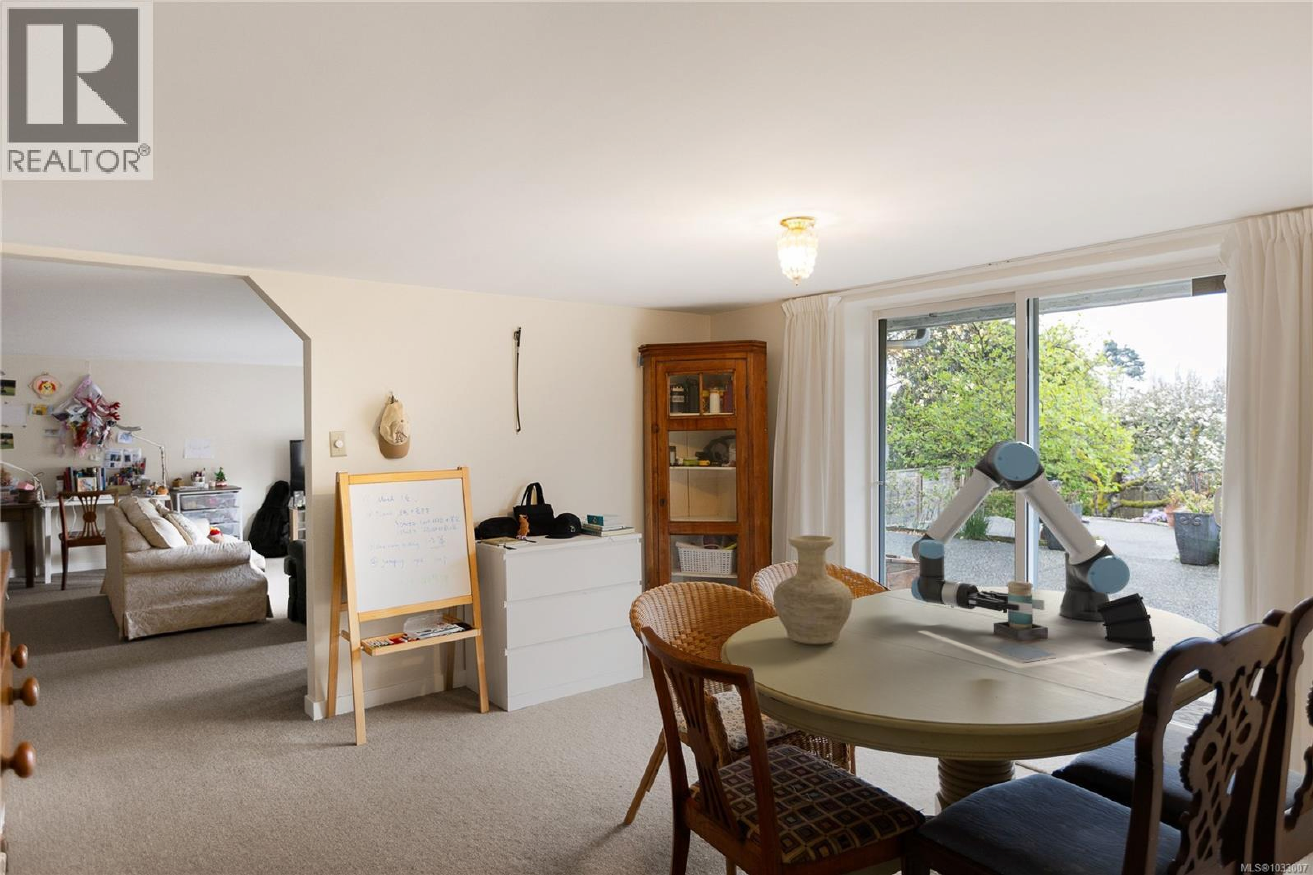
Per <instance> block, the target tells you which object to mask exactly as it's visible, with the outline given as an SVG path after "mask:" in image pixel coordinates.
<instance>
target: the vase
mask: <svg viewBox="0 0 1313 875" xmlns="http://www.w3.org/2000/svg"><path fill="white" fill-rule="evenodd" d="M788 542H789V544H790V546H792V547H793V548H795V549H796V551H797V570H796V573H795V574H794V575H791V576H790V577H788V578H785V579H784V580H782V581H781V582H779V583H778V584H777V585H776V587H775V589H774V591H773V594H772V595H773V597H772V598H773V599H772V600H773V605H774V610H775V612H776V615H777V617H778V618H779V621H780V622H781V623H782V625H783V627H784V628H785V630H786V635H787V637H788V638H789V639H790V640H792V641H794V642H797V643H801V644H805V645H806V644H807V645H825V644H830V643H834V642H835V641H838V639H839V638H840V634H841V630H842V629H843V628H844V626H845V625H846V622H847V621H848V620H849V617H850V615H851V611H852V607H853V606H852V605H853V595H852V591H851V589H850V588H849V587H848V586H847V585H846V583H844V582H843V581H841V580H840V579H837V578H835V577H833V576H831V575H829V574H828V572H827V567H826V566H827V565H826V558H827V557H826V552H827V550H828V548H831V547H832V546H833V545H834V543H835V539H834V537H831V536H825V535H811V534H810V535H809V534H808V535H795V536H791V537H789V538H788Z"/></svg>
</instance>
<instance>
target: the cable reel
mask: <svg viewBox="0 0 1313 875" xmlns="http://www.w3.org/2000/svg"><path fill="white" fill-rule="evenodd" d="M1006 587H1008V588H1007V590H1008V592H1007V593H1008V601H1014V602H1020V603H1026V604H1032V598H1033V594H1032V589H1033V587H1034V584H1033V583H1031V582H1028V581H1027V582H1026V581H1020V580H1019V581H1014V580H1013V581H1007V582H1006ZM1033 615H1034V613H1033V612H1032V614H1025V613H1019V612H1013V611H1008V610H1007V621H1008V622H1009V627H1011V628H1014V629H1018V630H1026V629H1032V623H1034V621H1033V618H1034V617H1033Z"/></svg>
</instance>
